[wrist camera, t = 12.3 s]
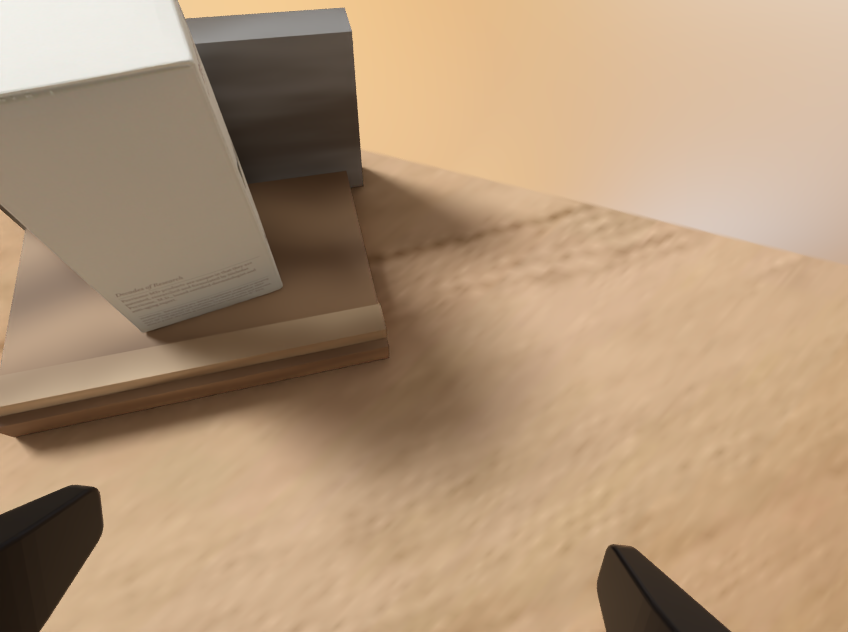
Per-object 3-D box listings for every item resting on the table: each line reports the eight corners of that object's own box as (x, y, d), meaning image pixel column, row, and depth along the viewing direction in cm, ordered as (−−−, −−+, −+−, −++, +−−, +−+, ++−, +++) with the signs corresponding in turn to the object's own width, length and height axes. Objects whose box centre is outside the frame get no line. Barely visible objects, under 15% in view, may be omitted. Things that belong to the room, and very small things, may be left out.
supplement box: (287, 291, 24) (198, 62, 13) (140, 337, 22) (-115, 118, 11) (254, 193, 27) (157, -62, 16) (121, 227, 25) (-94, -33, 14)
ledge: (406, 353, 24) (416, 241, 15) (-11, 442, 21) (-308, 361, 12) (357, 164, 31) (344, 7, 22) (32, 207, 27) (-141, 41, 18)
